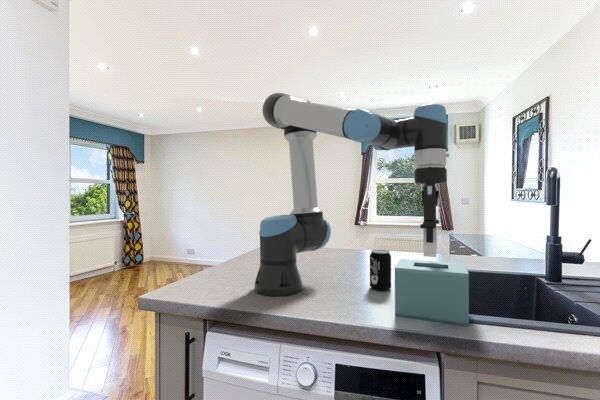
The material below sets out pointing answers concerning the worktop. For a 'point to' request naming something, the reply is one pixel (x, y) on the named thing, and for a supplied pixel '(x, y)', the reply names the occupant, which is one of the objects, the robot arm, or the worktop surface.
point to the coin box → (432, 291)
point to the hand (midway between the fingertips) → (430, 252)
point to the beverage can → (380, 270)
